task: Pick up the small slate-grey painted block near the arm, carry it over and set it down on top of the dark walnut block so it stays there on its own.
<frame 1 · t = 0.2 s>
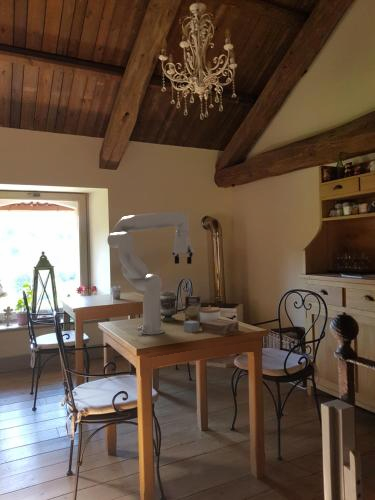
hand: (183, 263, 225), 36 cm above the table, tool pointing down, fingers open, 9 cm apart
slate block: (191, 331, 210), on the table
lidded bowl: (210, 324, 226), on the table, touching coffee box
apothecary jar: (168, 320, 242), on the table
walnut block: (220, 331, 209), on the table
coffee box: (192, 323, 231), on the table, touching lidded bowl
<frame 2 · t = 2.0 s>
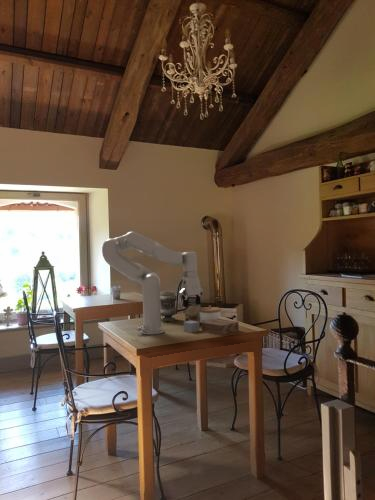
hand: (192, 305, 210), 14 cm above the table, tool pointing down, fingers open, 9 cm apart
nothing on the table moved.
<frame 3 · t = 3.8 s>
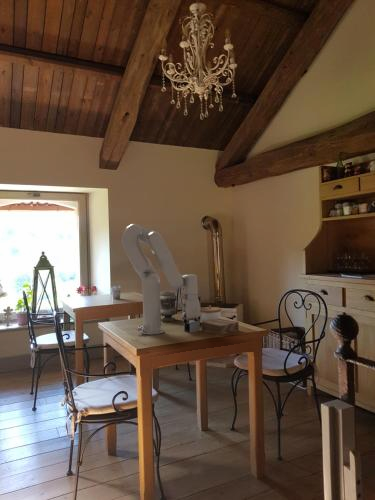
hand: (191, 329, 210), 1 cm above the table, tool pointing down, fingers closed on slate block, 6 cm apart
slate block: (191, 330, 210), on the table, touching gripper
everything else where it was.
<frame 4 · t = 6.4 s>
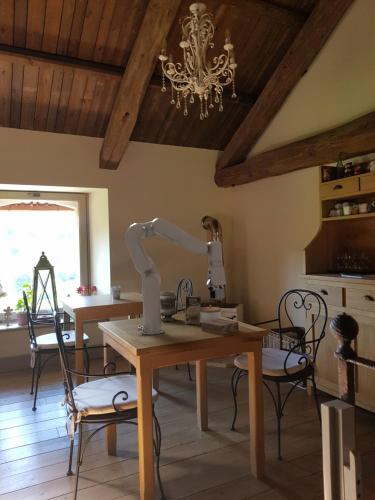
hand: (216, 297, 209), 18 cm above the table, tool pointing down, fingers closed on slate block, 6 cm apart
slate block: (217, 298, 209), point 18 cm above the table, touching gripper
everything else where it was.
when the fingers open (7 cm above the table, at t = 9.0 s): slate block drops 2 cm, resting on walnut block.
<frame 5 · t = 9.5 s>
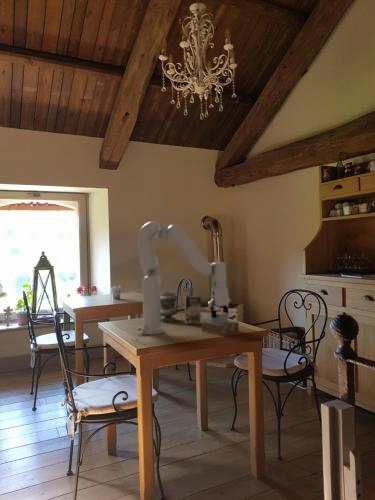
hand: (219, 316, 209), 8 cm above the table, tool pointing down, fingers open, 9 cm apart
slate block: (219, 322, 209), point 5 cm above the table, touching walnut block
walnut block: (220, 331, 209), on the table, touching slate block
everything else where it was.
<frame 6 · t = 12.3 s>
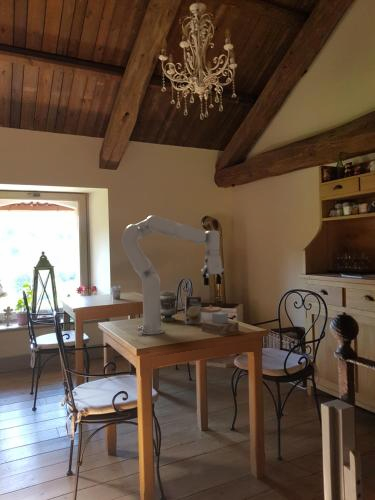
hand: (212, 284, 210), 25 cm above the table, tool pointing down, fingers open, 9 cm apart
slate block: (220, 322, 209), point 5 cm above the table
walnut block: (220, 331, 209), on the table
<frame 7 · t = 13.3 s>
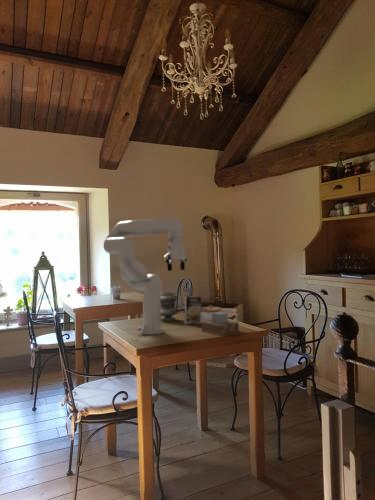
hand: (176, 270, 225), 32 cm above the table, tool pointing down, fingers open, 9 cm apart
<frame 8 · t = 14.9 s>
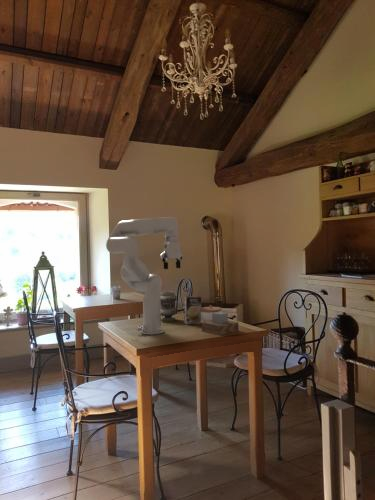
hand: (172, 268, 226), 33 cm above the table, tool pointing down, fingers open, 9 cm apart
slate block: (220, 322, 209), point 5 cm above the table, touching walnut block
walnut block: (220, 331, 208), on the table, touching slate block
at the end: slate block inside the target area on the walnut block (0.6 cm from its centre), point 5.0 cm above the walnut block's base; slate block tilted 0°; the gripper is holding nothing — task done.
